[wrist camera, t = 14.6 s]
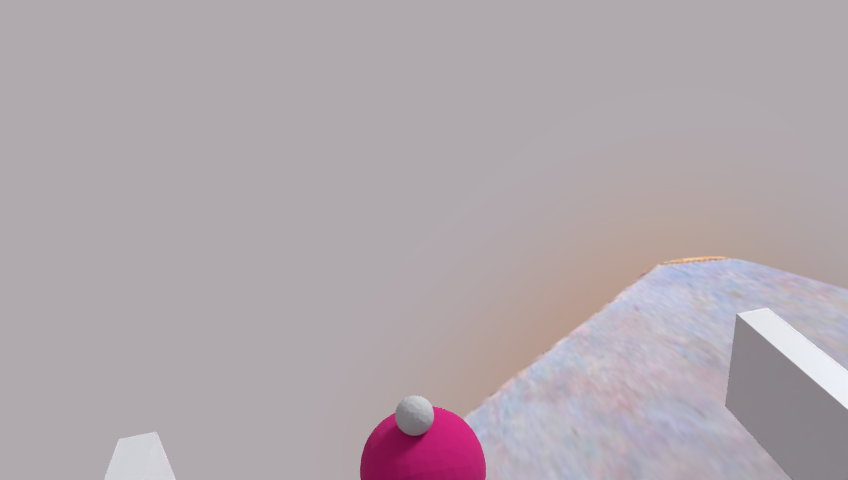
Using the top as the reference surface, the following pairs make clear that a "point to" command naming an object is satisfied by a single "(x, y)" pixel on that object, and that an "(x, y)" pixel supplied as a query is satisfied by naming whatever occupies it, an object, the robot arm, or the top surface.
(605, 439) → the top surface
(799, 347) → the robot arm
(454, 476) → the pepper mill
